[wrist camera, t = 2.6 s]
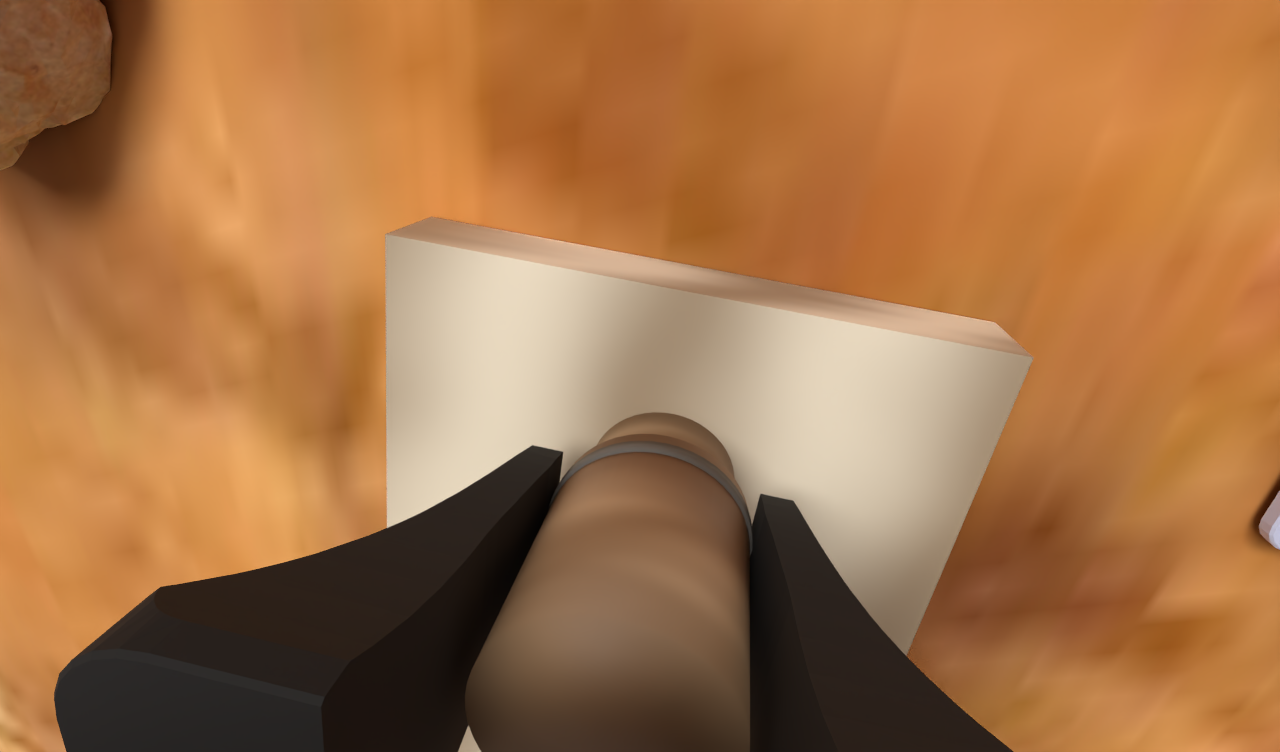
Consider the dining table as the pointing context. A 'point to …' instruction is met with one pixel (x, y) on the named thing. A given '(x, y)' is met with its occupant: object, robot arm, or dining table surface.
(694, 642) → the peg
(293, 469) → the dining table surface
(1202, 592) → the dining table surface
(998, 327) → the board
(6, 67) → the stone tool
